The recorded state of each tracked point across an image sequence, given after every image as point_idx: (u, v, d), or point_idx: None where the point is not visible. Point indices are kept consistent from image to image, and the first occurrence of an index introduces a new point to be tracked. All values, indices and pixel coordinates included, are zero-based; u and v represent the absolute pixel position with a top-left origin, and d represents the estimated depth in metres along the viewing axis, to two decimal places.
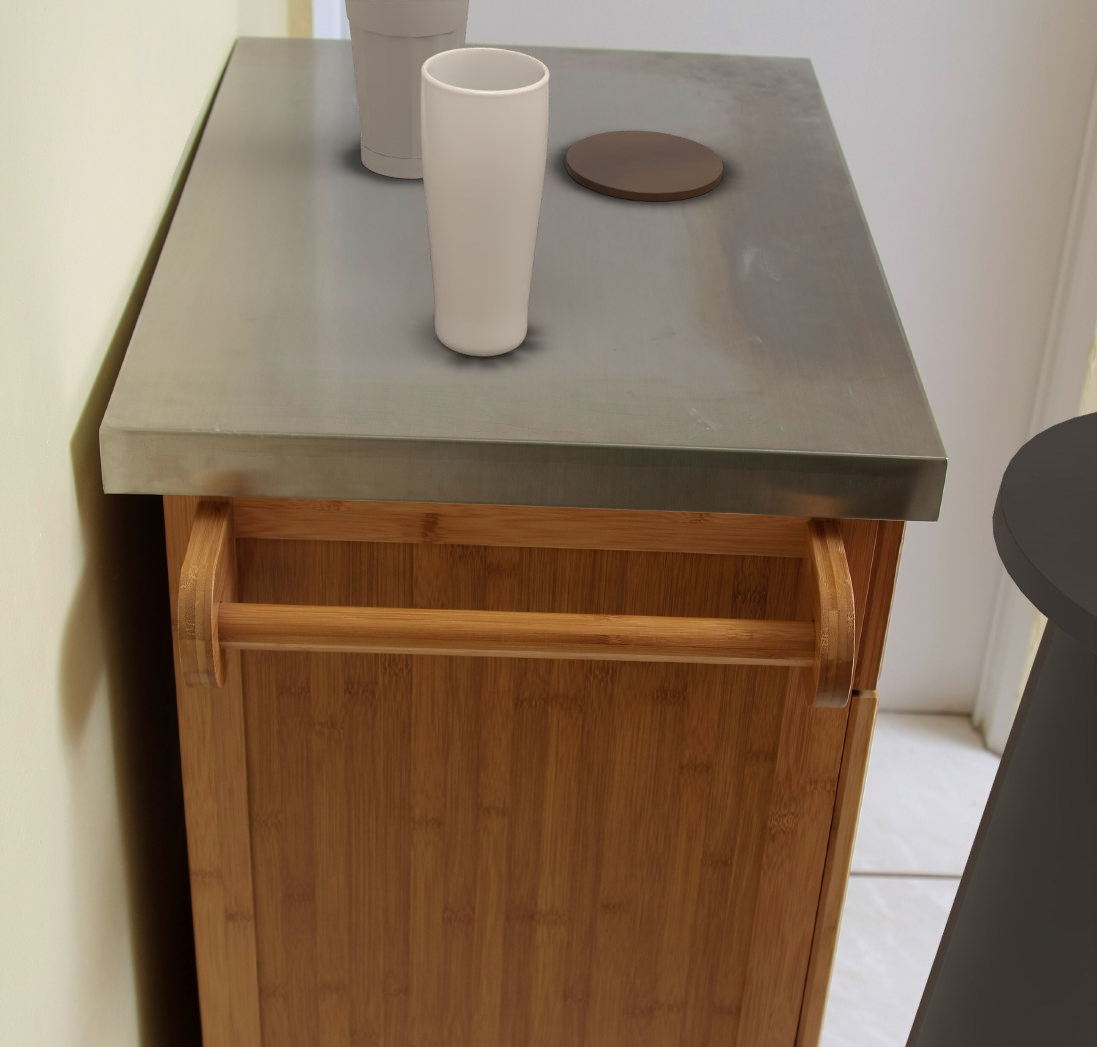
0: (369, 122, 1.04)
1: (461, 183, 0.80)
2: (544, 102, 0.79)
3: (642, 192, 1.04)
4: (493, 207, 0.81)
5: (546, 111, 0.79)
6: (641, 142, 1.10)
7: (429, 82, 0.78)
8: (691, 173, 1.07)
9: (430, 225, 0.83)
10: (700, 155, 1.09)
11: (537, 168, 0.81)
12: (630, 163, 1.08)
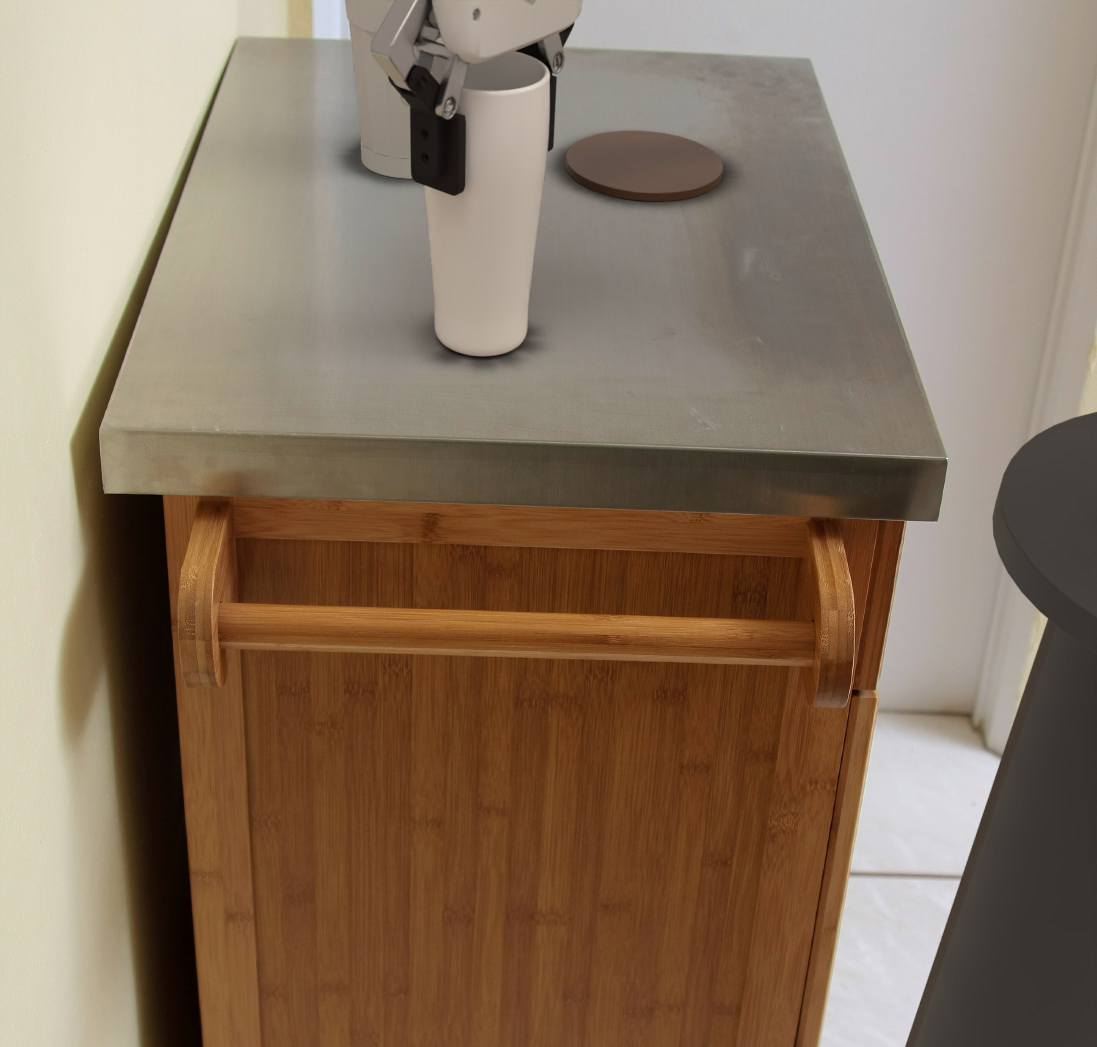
0: (369, 122, 1.04)
1: None
2: (544, 102, 0.79)
3: (642, 192, 1.04)
4: (493, 207, 0.81)
5: (546, 111, 0.79)
6: (641, 142, 1.10)
7: None
8: (691, 173, 1.07)
9: (430, 225, 0.83)
10: (700, 155, 1.09)
11: (537, 168, 0.81)
12: (630, 163, 1.08)
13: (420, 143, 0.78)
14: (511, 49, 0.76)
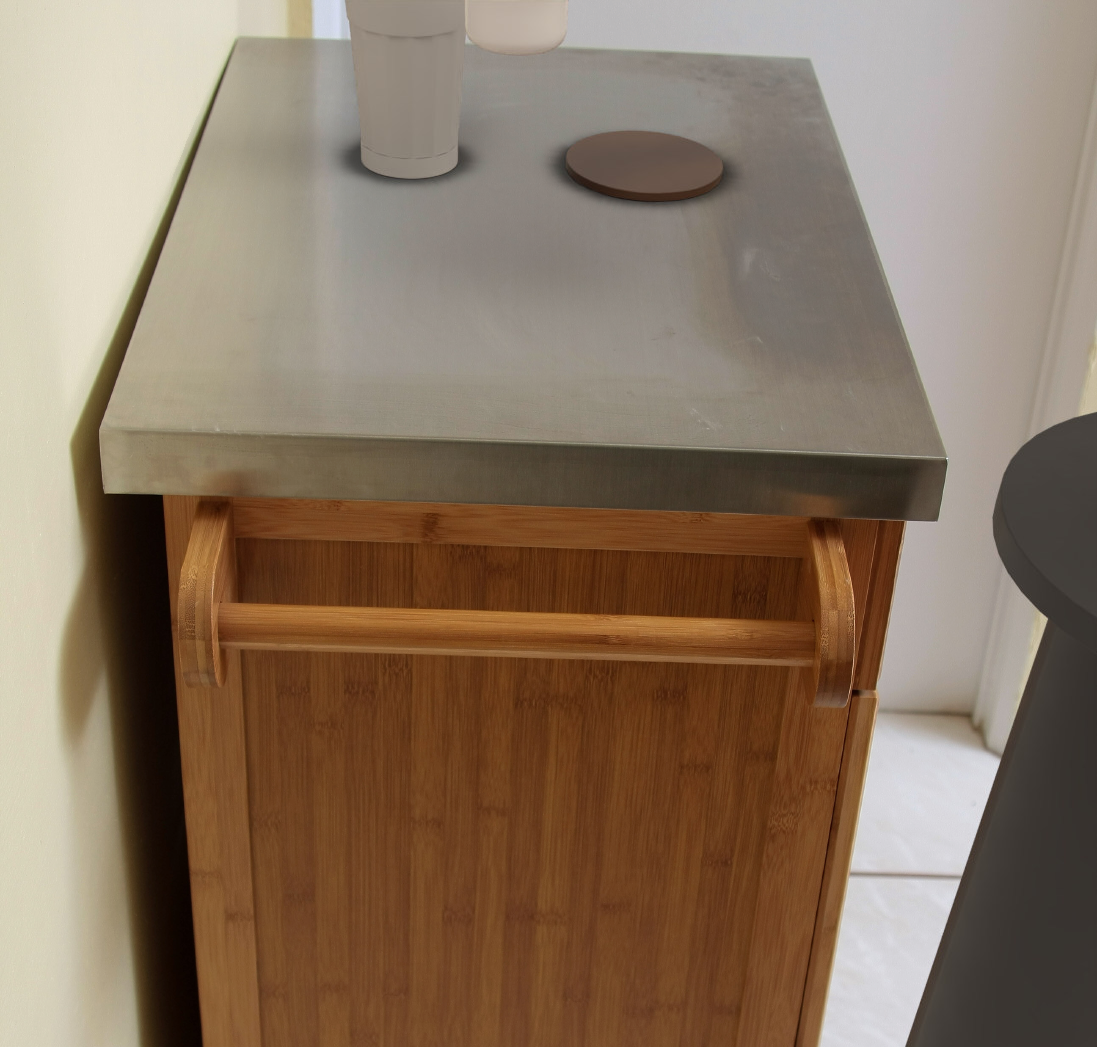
0: (369, 122, 1.04)
1: None
2: None
3: (642, 192, 1.04)
4: None
5: None
6: (641, 142, 1.10)
7: None
8: (691, 173, 1.07)
9: None
10: (700, 155, 1.09)
11: None
12: (630, 163, 1.08)
13: None
14: None
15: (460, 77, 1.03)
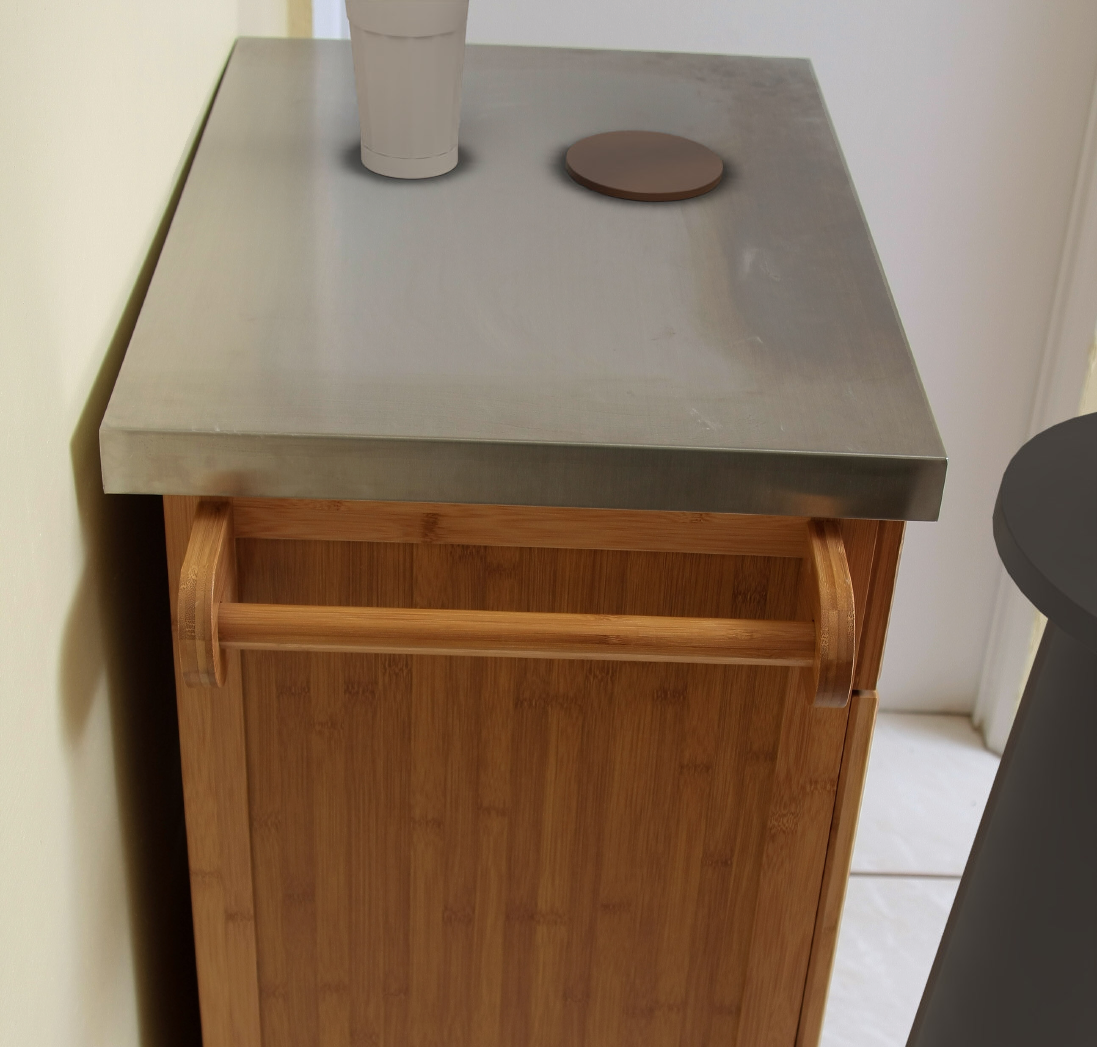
0: (369, 122, 1.04)
1: None
2: None
3: (642, 192, 1.04)
4: None
5: None
6: (641, 142, 1.10)
7: None
8: (691, 173, 1.07)
9: None
10: (700, 155, 1.09)
11: None
12: (630, 163, 1.08)
13: None
14: None
15: (460, 77, 1.03)
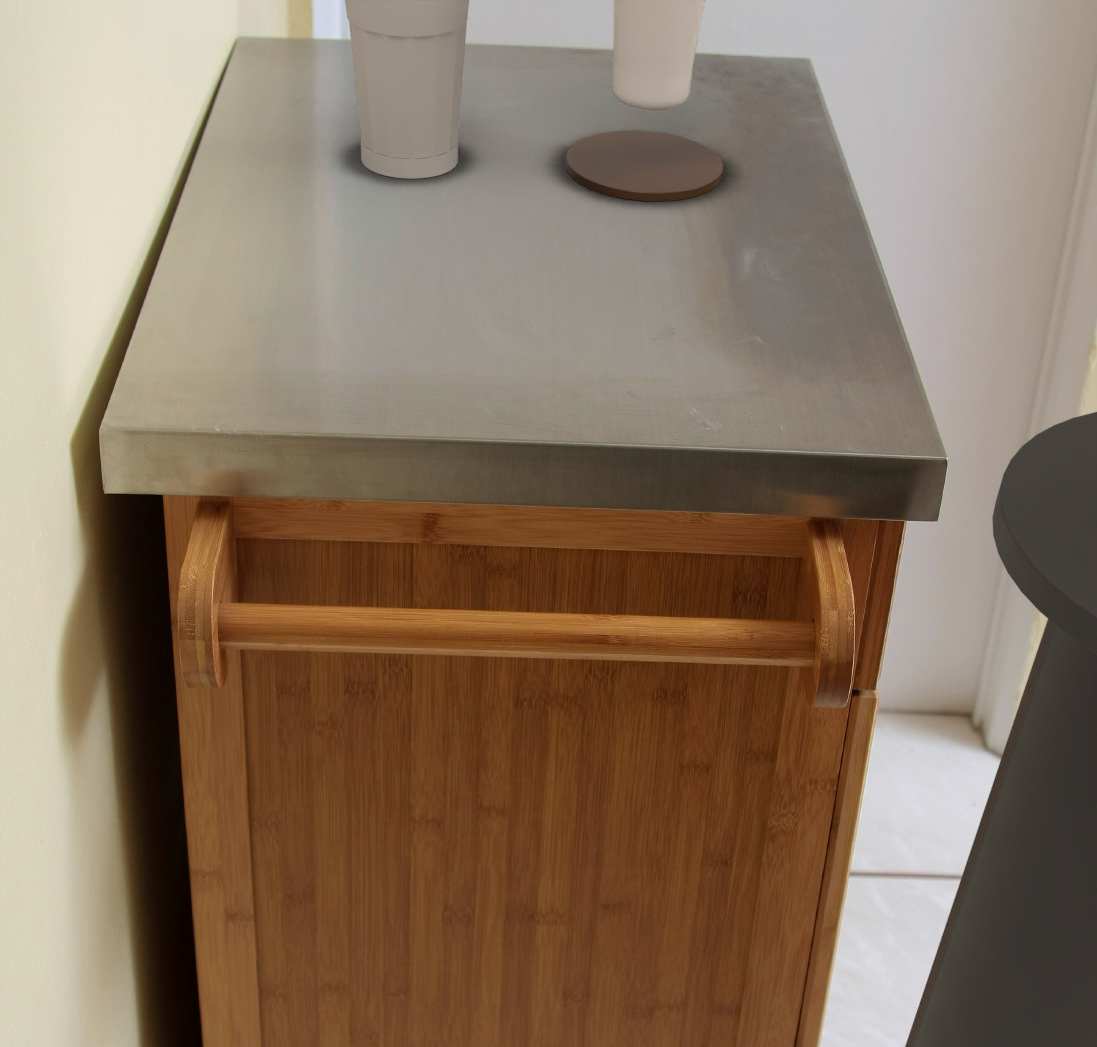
0: (369, 122, 1.04)
1: None
2: None
3: (642, 192, 1.04)
4: None
5: None
6: (641, 142, 1.10)
7: None
8: (691, 173, 1.07)
9: None
10: (700, 155, 1.09)
11: None
12: (630, 163, 1.08)
13: None
14: None
15: (460, 77, 1.03)
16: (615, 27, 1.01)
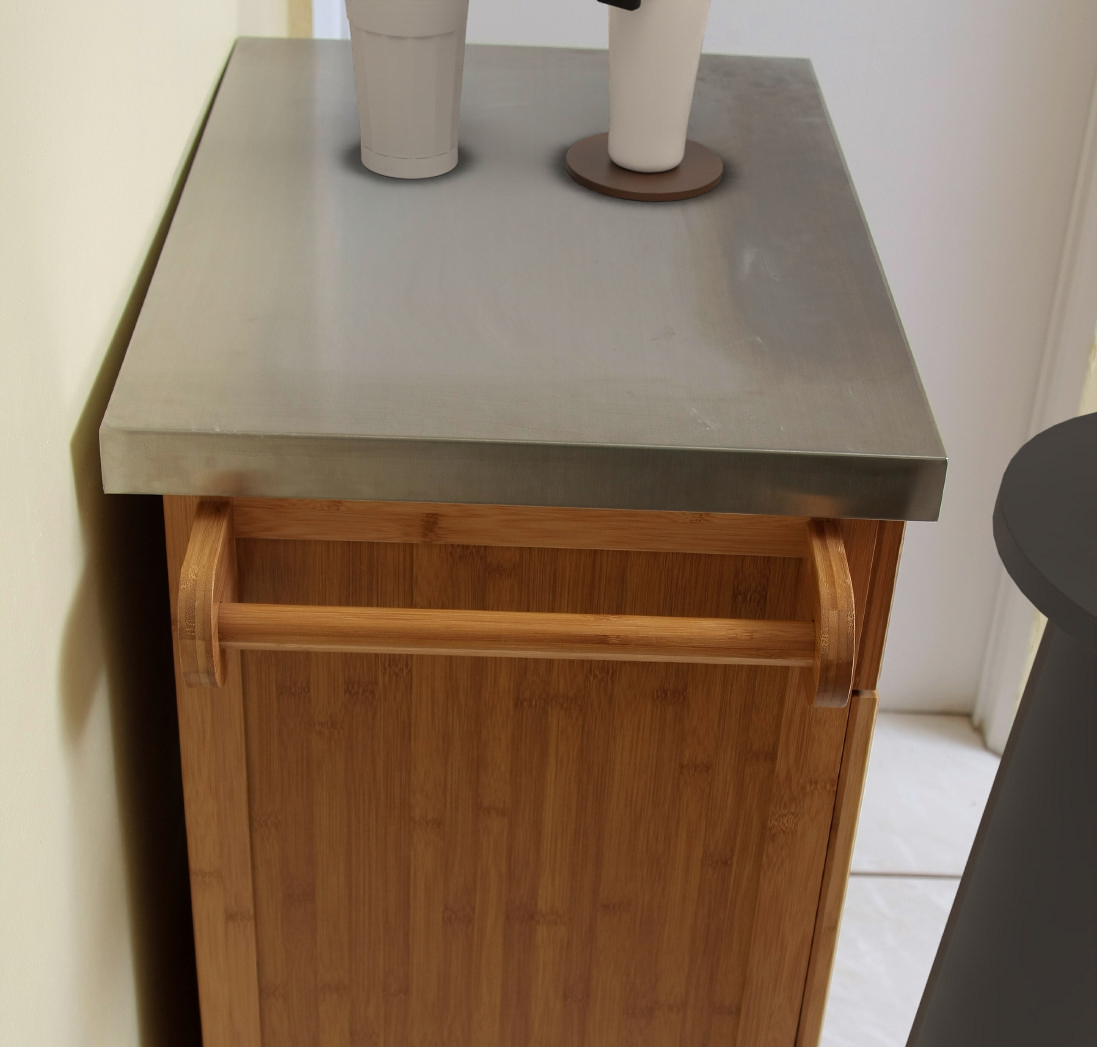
0: (369, 122, 1.04)
1: (644, 18, 0.99)
2: None
3: (642, 192, 1.04)
4: (668, 39, 1.00)
5: None
6: None
7: None
8: (691, 173, 1.07)
9: (613, 58, 1.02)
10: (700, 155, 1.09)
11: (704, 7, 1.00)
12: None
13: None
14: None
15: (460, 77, 1.03)
16: (611, 93, 1.04)
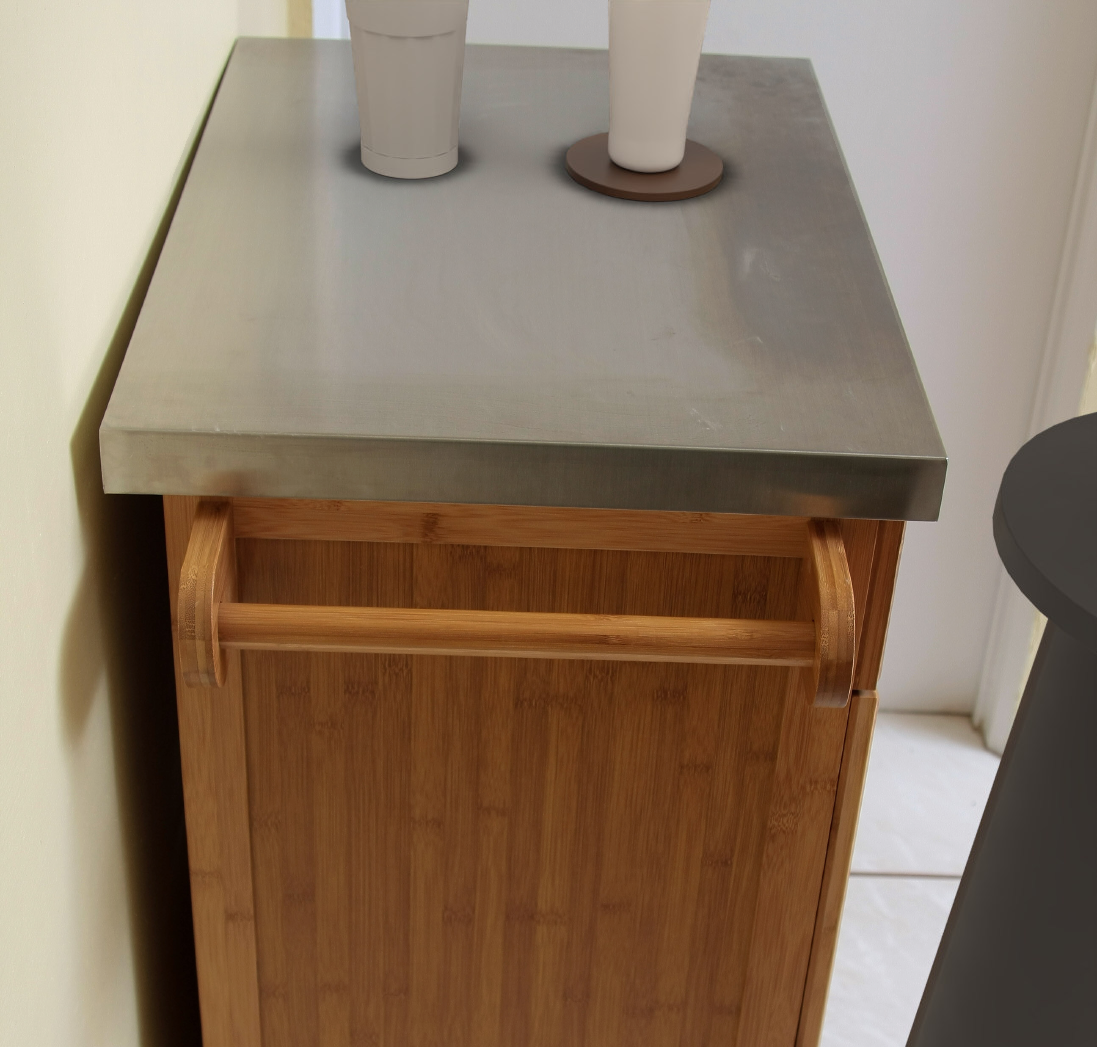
0: (369, 122, 1.04)
1: (644, 18, 0.99)
2: None
3: (642, 192, 1.04)
4: (668, 39, 1.00)
5: None
6: None
7: None
8: (691, 173, 1.07)
9: (613, 58, 1.02)
10: (700, 155, 1.09)
11: (704, 7, 1.00)
12: None
13: None
14: None
15: (460, 77, 1.03)
16: (611, 93, 1.04)
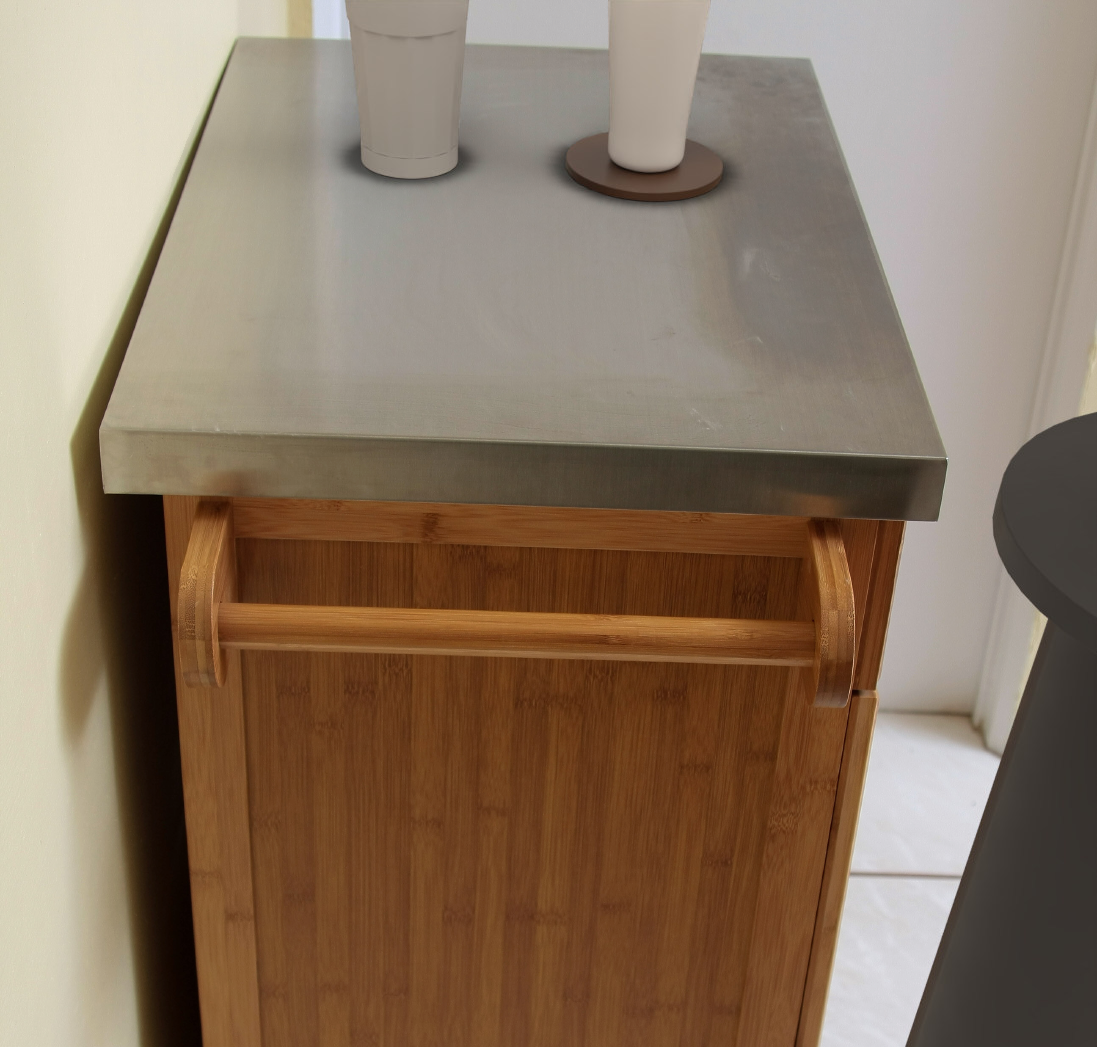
0: (369, 122, 1.04)
1: (644, 18, 0.99)
2: None
3: (642, 192, 1.04)
4: (668, 39, 1.00)
5: None
6: None
7: None
8: (691, 173, 1.07)
9: (613, 58, 1.02)
10: (700, 155, 1.09)
11: (704, 7, 1.00)
12: None
13: None
14: None
15: (460, 77, 1.03)
16: (611, 93, 1.04)
